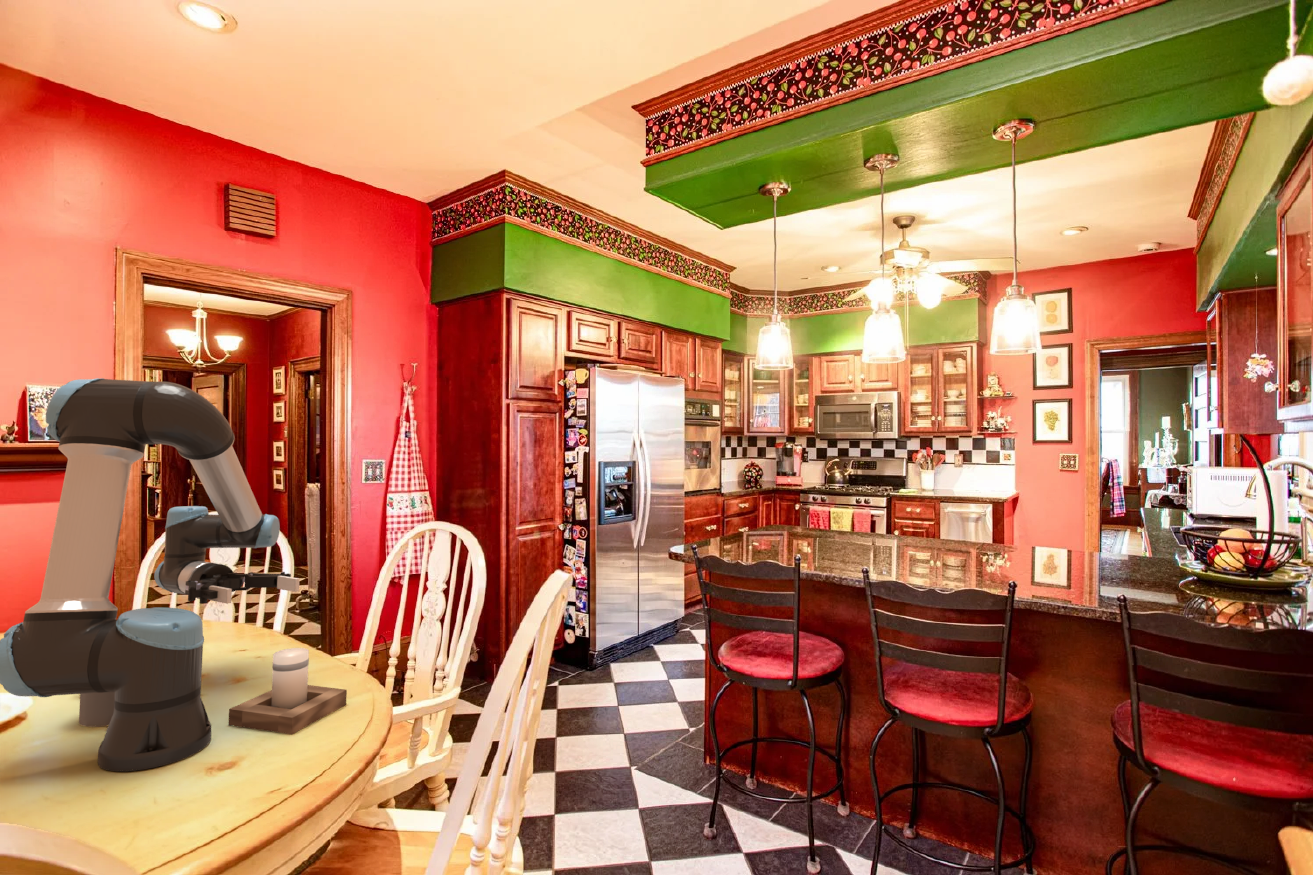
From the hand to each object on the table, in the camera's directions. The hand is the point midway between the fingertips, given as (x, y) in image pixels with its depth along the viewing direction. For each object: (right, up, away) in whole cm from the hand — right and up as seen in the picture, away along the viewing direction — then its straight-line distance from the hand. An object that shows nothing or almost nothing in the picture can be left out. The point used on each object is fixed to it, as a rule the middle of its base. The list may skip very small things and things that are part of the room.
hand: (265, 590), depth 128 cm
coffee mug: (-23, -22, -7) cm, 33 cm away
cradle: (+8, -23, -5) cm, 25 cm away
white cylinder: (+8, -23, -6) cm, 25 cm away
